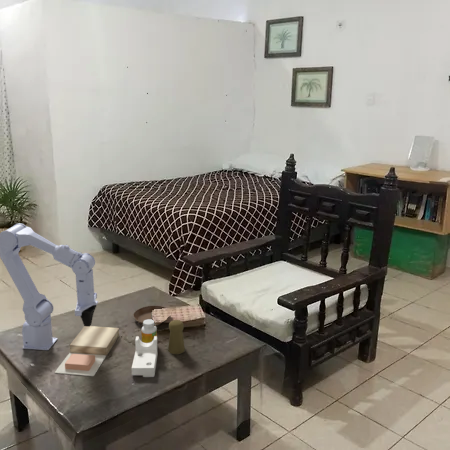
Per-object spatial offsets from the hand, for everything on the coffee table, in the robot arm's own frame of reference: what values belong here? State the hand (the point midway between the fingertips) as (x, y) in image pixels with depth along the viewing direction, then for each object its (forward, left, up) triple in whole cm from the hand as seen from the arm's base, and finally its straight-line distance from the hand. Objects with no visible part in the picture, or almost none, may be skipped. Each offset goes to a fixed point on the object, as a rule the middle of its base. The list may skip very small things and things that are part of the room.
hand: (87, 325), depth 171 cm
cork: (+31, +3, -9) cm, 32 cm away
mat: (+1, -10, -9) cm, 14 cm away
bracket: (+22, -8, -9) cm, 26 cm away
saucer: (+17, +24, -9) cm, 31 cm away
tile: (+1, -11, -8) cm, 13 cm away
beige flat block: (+1, +3, -9) cm, 9 cm away
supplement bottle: (+21, +4, -9) cm, 23 cm away
